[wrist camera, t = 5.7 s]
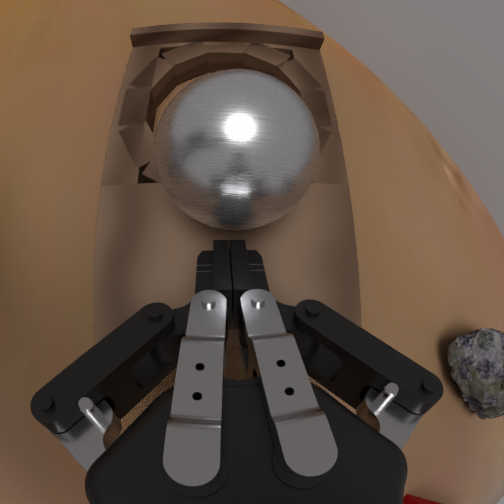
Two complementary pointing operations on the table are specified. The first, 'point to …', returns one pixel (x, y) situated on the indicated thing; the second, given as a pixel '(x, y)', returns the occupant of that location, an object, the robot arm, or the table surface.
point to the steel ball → (236, 149)
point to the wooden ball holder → (192, 231)
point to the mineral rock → (480, 370)
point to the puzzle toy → (417, 500)
